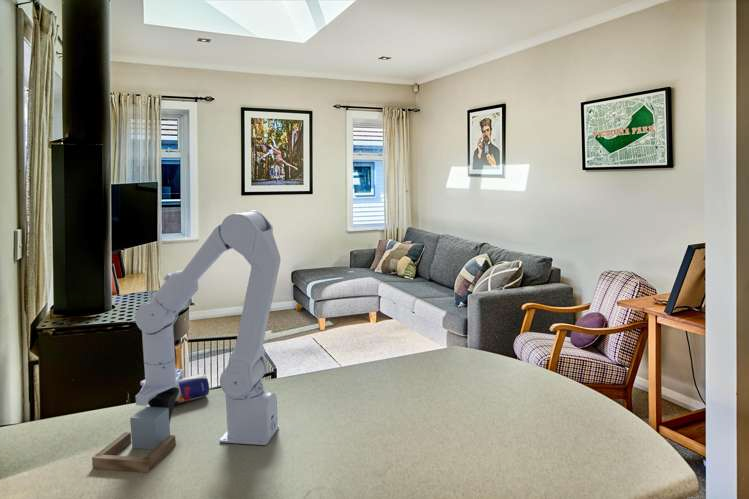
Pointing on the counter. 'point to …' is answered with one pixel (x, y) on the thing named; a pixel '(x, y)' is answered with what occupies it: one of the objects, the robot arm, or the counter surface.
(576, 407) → the counter surface
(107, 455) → the bay
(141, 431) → the pale blue-grey cube
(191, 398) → the energy drink
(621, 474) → the counter surface
